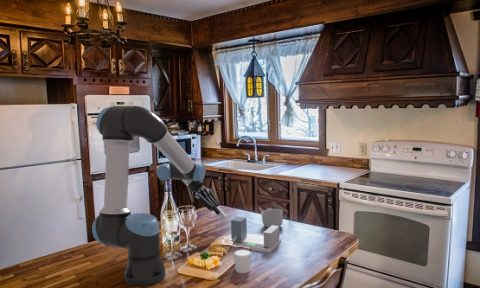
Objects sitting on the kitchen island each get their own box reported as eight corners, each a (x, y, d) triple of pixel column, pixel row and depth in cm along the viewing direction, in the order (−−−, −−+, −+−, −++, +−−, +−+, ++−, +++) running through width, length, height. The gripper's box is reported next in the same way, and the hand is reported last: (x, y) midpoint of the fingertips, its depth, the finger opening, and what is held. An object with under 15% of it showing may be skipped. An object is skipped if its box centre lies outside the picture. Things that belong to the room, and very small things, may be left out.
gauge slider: (227, 242, 167) (226, 222, 166) (237, 234, 176) (236, 216, 175) (237, 243, 165) (236, 224, 164) (246, 236, 174) (246, 217, 173)
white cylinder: (241, 264, 148) (241, 247, 147) (255, 269, 144) (254, 251, 143) (230, 270, 143) (229, 253, 142) (244, 275, 138) (243, 257, 137)
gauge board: (220, 244, 169) (220, 227, 168) (234, 234, 181) (234, 218, 180) (269, 252, 158) (269, 234, 157) (280, 241, 171) (280, 224, 170)
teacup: (283, 230, 186) (283, 214, 185) (262, 230, 186) (261, 215, 185) (281, 221, 199) (281, 206, 199) (261, 221, 200) (260, 207, 199)
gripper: (196, 183, 188) (226, 218, 183) (181, 189, 177) (213, 227, 171) (204, 173, 185) (235, 209, 180) (190, 179, 174) (222, 217, 168)
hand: (224, 218), depth 176 cm, fingers closed
